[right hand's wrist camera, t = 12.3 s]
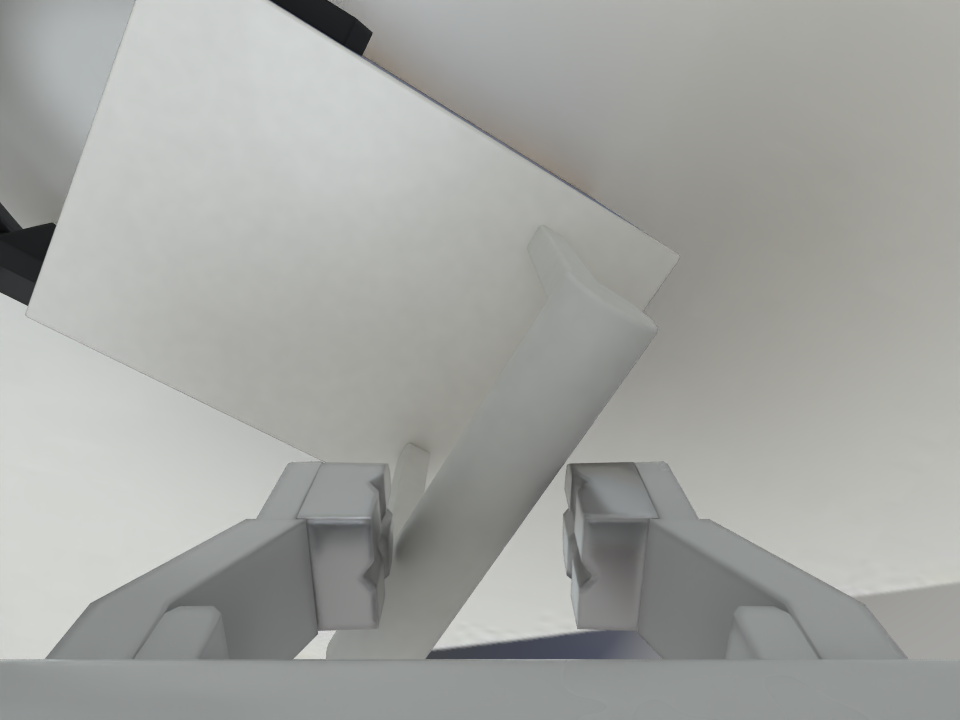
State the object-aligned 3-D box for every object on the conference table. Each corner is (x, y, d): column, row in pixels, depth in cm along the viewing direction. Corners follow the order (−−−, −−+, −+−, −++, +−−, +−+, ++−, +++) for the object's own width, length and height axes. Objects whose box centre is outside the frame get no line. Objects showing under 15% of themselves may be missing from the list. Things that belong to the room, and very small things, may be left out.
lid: (670, 248, 16) (853, 367, 8) (484, 520, 19) (489, 802, 11) (179, -56, 14) (-212, -290, 6) (48, 305, 17) (-336, 469, 9)
